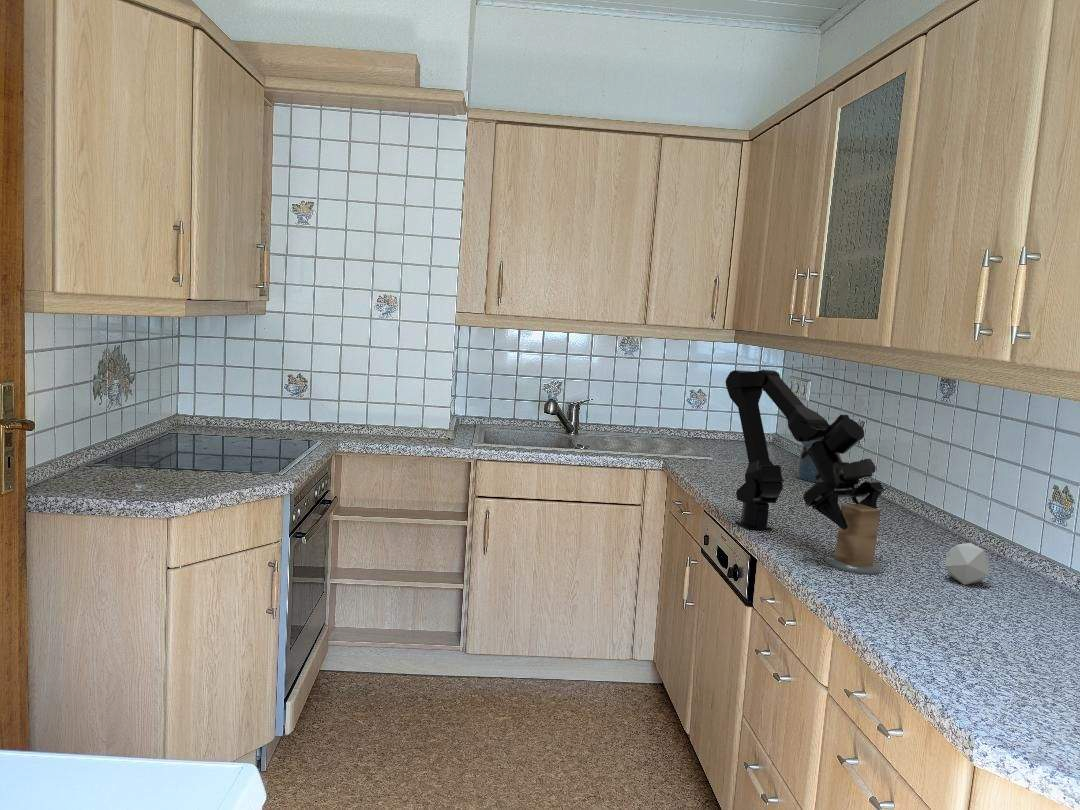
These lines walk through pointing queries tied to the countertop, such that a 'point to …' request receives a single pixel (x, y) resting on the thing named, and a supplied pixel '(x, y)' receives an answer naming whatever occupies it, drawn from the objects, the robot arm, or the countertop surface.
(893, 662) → the countertop surface
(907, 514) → the countertop surface
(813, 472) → the canister
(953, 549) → the die
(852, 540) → the walnut block
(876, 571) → the slate coaster
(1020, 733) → the countertop surface
